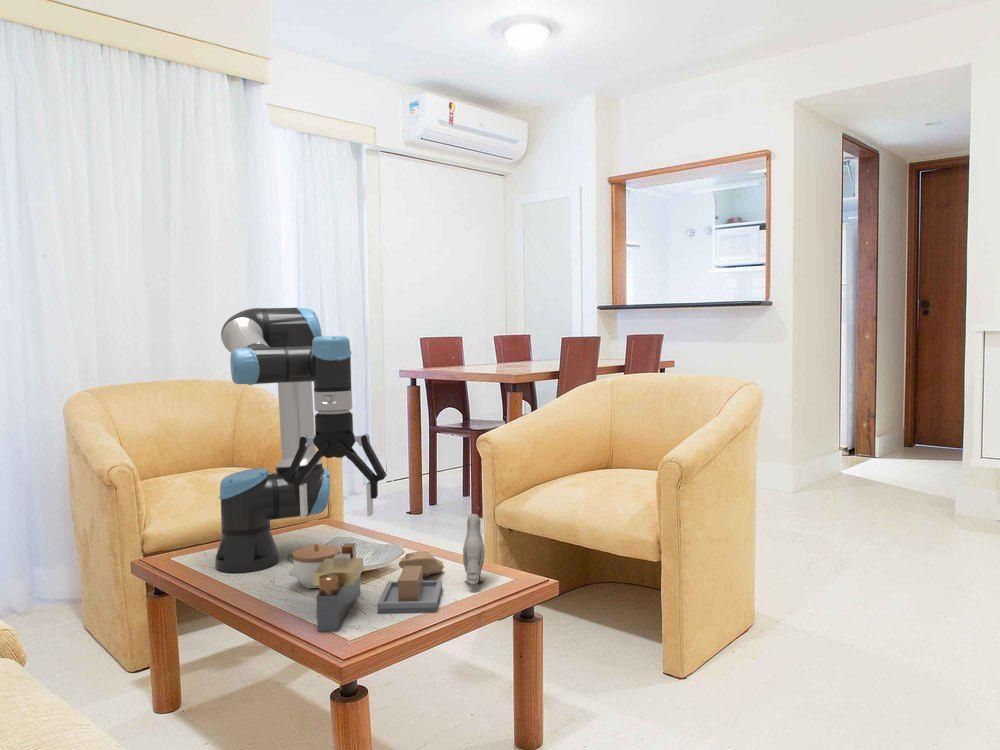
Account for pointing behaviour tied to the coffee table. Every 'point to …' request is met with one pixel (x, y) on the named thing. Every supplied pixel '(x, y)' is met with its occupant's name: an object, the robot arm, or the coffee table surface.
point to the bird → (473, 550)
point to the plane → (336, 597)
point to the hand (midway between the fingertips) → (337, 515)
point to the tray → (410, 605)
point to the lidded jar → (311, 561)
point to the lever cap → (340, 569)
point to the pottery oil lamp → (422, 562)
